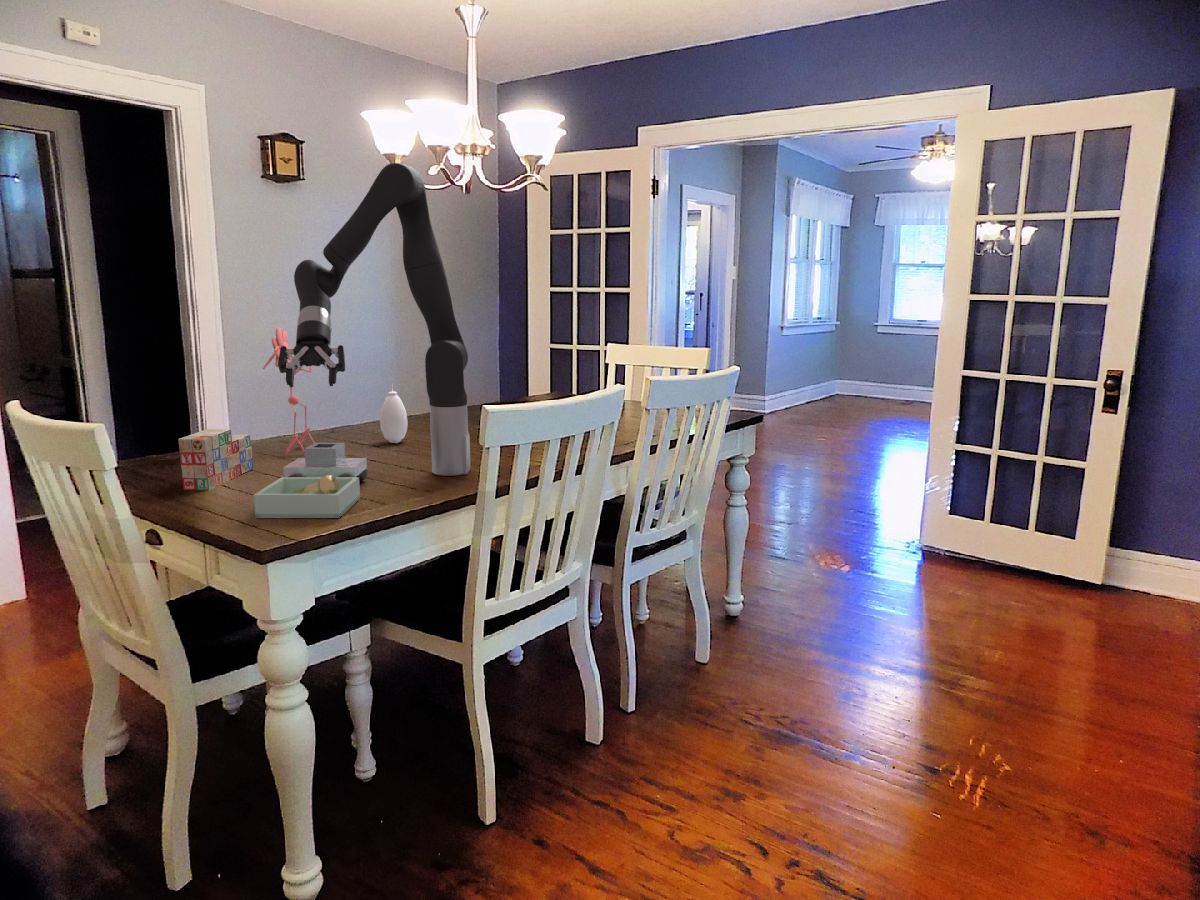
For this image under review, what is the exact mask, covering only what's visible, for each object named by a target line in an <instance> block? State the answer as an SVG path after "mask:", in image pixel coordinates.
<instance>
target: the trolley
mask: <svg viewBox="0 0 1200 900" xmlns="http://www.w3.org/2000/svg"><path fill="white" fill-rule="evenodd" d="M304 450H305V454H304V457H298V458H297V459H295V460H294V461H292V462H290V463H288V464H286V465H284V466H283V467H282V468H283V477H325V476H328V475H331V476H334V477H359V483H361V482H363V481H364V480H366V478H367V477H368V475H369V470H368V465H367V464H368V463H367V457H346V447H345V442H315V443H313V442H312V444H310V445H308V446H306V447H304Z"/></svg>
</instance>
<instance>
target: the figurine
mask: <svg viewBox="0 0 1200 900" xmlns="http://www.w3.org/2000/svg"><path fill="white" fill-rule="evenodd" d="M288 335H289V334H288V331H287V330H283V332H282V328H281V327H280V326H278V327H276V329H275V337H276V338H275V337H274V336H272V337H271V345H272V348H273V349H274V350H273V353H272V355H271V356H270V357H269V358H268V360H267V361H266V363H265V364H264V365H263V368H262V369H263V370H265V369H266V367H267V366H268V365H269V364H270V363H271V361H272V360H273V359H275V361H274V362H275V363H274V364H275V367H276V368H279V367H278V360H279V355H280V349H281V347H282V346H285V347H286V349H291V348H290V346H289V345H290V344H289V342H288V341H289V337H288ZM293 357H294V355H291V356H290V358H289V359H287V364H289V363H290V362H291V361H292V358H293ZM287 364H286V365H287ZM304 367H306V365H304V366H303V367H302V368H301V369H300V370H297V371H296V372H295V373H294V376H295V375H296V374H298V372H300V371H304V372H306V373H310V374H311V373H312V369H313V366H309V369H307V368H304ZM289 390H290V392H289V393H290V396H289V397H288V399H287V400H288V401H287V402H288V403H289V404H290V405H291V408H292V411H293V412H294V416H293V419H294V422H293V423H294V425H293V436H292V439H291V440H290V441H289V444H288V446H287V449H286V452H285V454H284V455H285V457H287V455H288V454H289V453H290V452H291V450H292V449H293V448H294V445H295V444H296V442H297V445H298V447H299V448H300V449H301V450H302V452H303V454H304V455H305V450H304V449H305V447H303V445H302V444H304V442H305V440H306V439H307V438H309V439H310V441H311V442H312V444H313V443H316V442H315V441H314V439H313V437H312V436H311V434H310V431H311V429H310V428H309V427H307V405H305V404H302V403H300V399H299V398H298V396H296V395H293V387H290V386H289ZM297 404H298V405H300V406H302V407H304V425H305V426H304V429H305V430H304V432H303V433H302V434H301V436H300V438H299V439H298V435H299V434H298V433H296V423H297V422H296V421H297V420H296V419H297V418H296V417H297V412H296V409H295V408H294V406H296V405H297Z"/></svg>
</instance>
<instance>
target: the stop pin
mask: <svg viewBox="0 0 1200 900" xmlns="http://www.w3.org/2000/svg"><path fill="white" fill-rule="evenodd" d="M338 491H339V482H338V480H337V479H336V478H335V477H334V476H331V475H328V476H325V477H322V478H321V479H320V480H319V482H317V483H314V484H311V485H308V486H305V487H302V488H300V489H297V490H295V491H294V492H293V494H335V493H336V492H338Z"/></svg>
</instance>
